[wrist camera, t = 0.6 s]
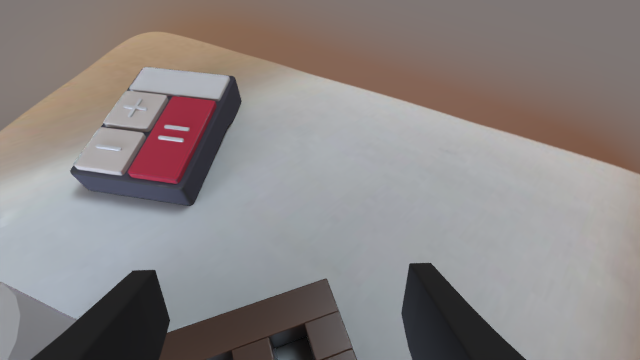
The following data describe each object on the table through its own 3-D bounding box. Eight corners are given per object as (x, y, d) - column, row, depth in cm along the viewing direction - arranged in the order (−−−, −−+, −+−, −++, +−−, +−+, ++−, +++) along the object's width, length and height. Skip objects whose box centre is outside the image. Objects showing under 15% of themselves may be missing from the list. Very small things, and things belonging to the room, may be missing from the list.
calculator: (61, 167, 31) (140, 60, 39) (89, 193, 34) (156, 90, 43) (179, 184, 29) (234, 70, 38) (195, 210, 33) (242, 99, 41)
